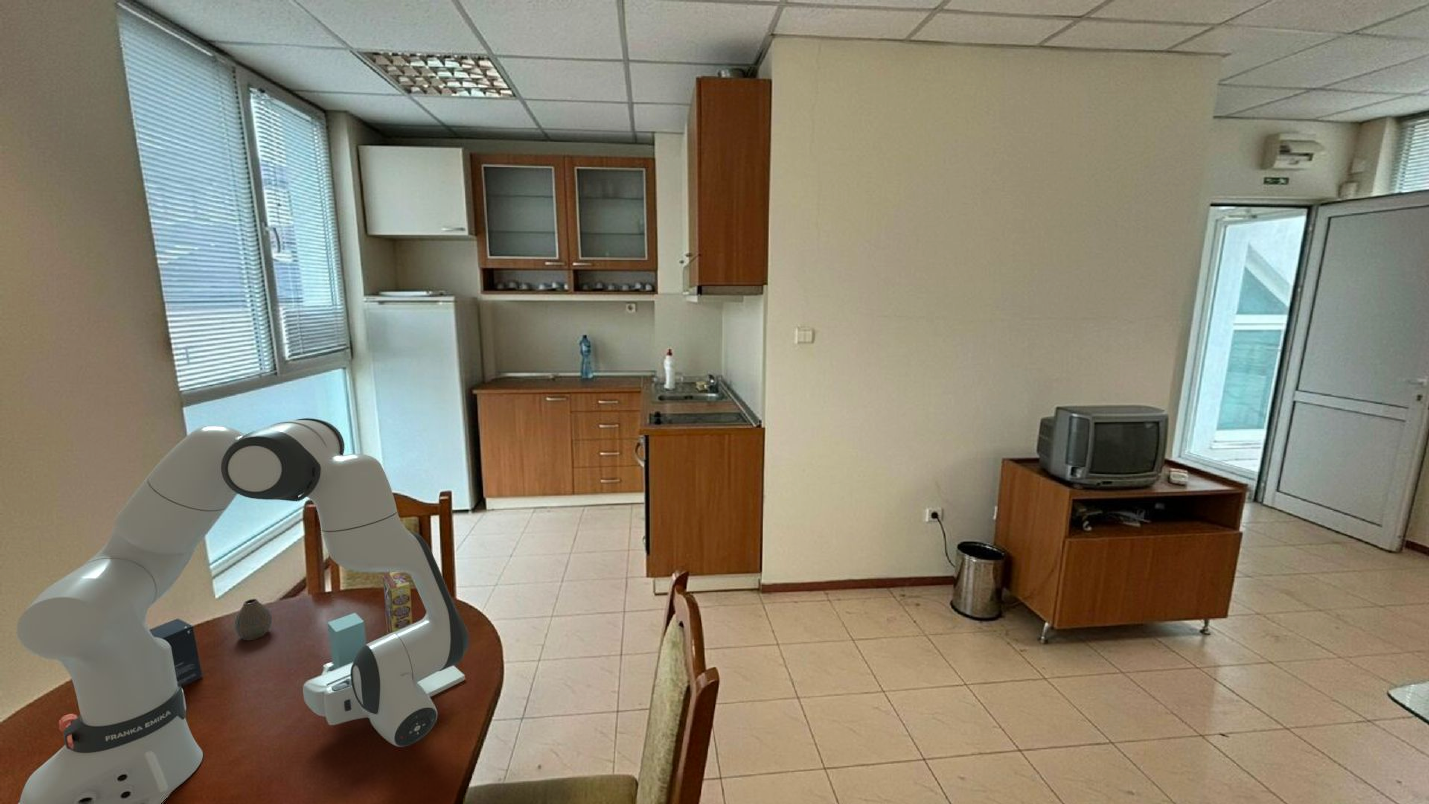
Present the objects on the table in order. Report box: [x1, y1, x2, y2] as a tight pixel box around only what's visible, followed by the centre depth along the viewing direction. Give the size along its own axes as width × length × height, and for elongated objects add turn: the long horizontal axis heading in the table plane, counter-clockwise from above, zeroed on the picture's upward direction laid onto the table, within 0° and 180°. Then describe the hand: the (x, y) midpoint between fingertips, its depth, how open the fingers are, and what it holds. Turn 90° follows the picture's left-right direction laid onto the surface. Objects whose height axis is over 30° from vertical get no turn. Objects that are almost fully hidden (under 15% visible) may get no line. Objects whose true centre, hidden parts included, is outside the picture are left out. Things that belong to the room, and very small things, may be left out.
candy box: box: [382, 572, 413, 635], centre depth 134 cm, size 9×4×15 cm, turn 39°
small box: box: [148, 618, 204, 688], centre depth 116 cm, size 13×7×12 cm, turn 154°
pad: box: [417, 665, 466, 698], centre depth 121 cm, size 12×12×1 cm
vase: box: [233, 598, 273, 641], centre depth 135 cm, size 7×7×9 cm
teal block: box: [327, 612, 367, 670], centre depth 119 cm, size 5×5×14 cm
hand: (354, 655), depth 116 cm, fingers open, 8 cm apart
